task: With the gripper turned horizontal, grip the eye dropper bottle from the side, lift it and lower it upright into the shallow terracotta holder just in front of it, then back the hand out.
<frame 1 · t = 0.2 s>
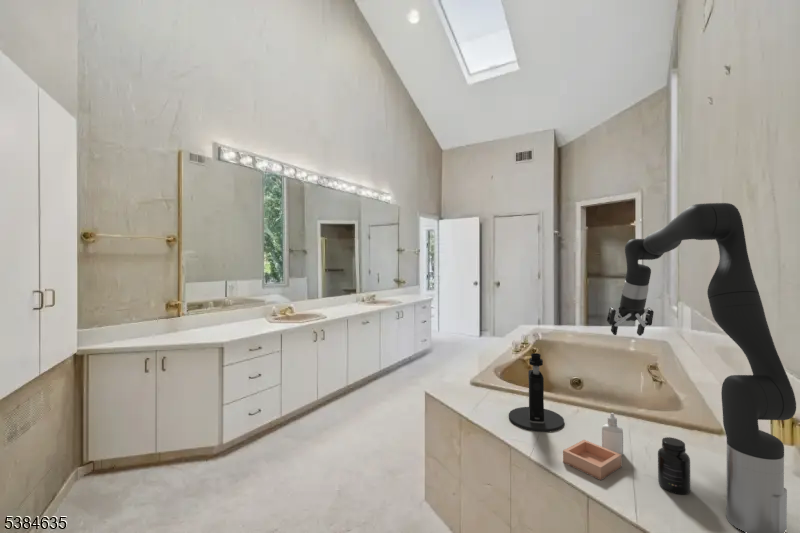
hand: (626, 334, 139), 31 cm above the worktop, tool tilted 20°, fingers open, 8 cm apart
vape: (535, 420, 140), on the worktop
eye dropper bottle: (612, 452, 116), on the worktop
terracotta holder: (591, 464, 110), on the worktop
supplement bottle: (673, 487, 98), on the worktop
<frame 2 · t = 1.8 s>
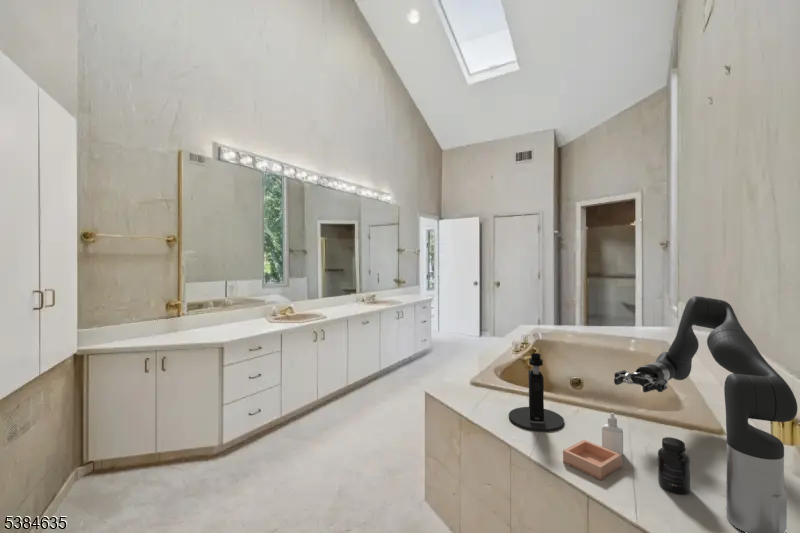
hand: (629, 385, 122), 18 cm above the worktop, tool horizontal, fingers open, 8 cm apart
nothing on the worktop moved.
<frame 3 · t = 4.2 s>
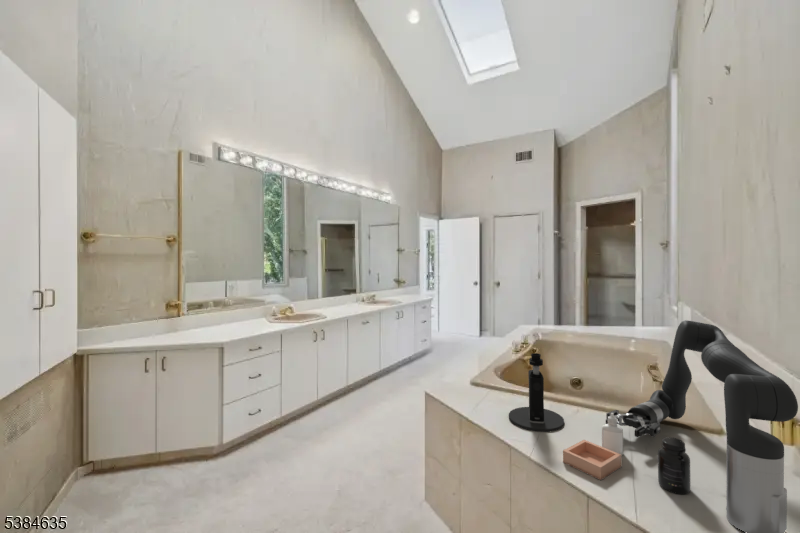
hand: (621, 428, 119), 6 cm above the worktop, tool horizontal, fingers open, 8 cm apart
nothing on the worktop moved.
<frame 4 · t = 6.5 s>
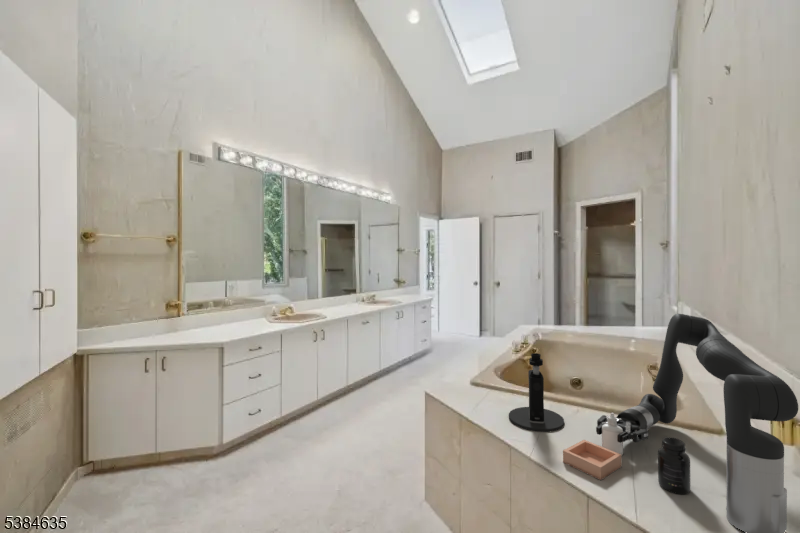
hand: (608, 435, 114), 6 cm above the worktop, tool horizontal, fingers closed on eye dropper bottle, 5 cm apart
eye dropper bottle: (612, 452, 116), on the worktop, touching gripper
everything else where it was.
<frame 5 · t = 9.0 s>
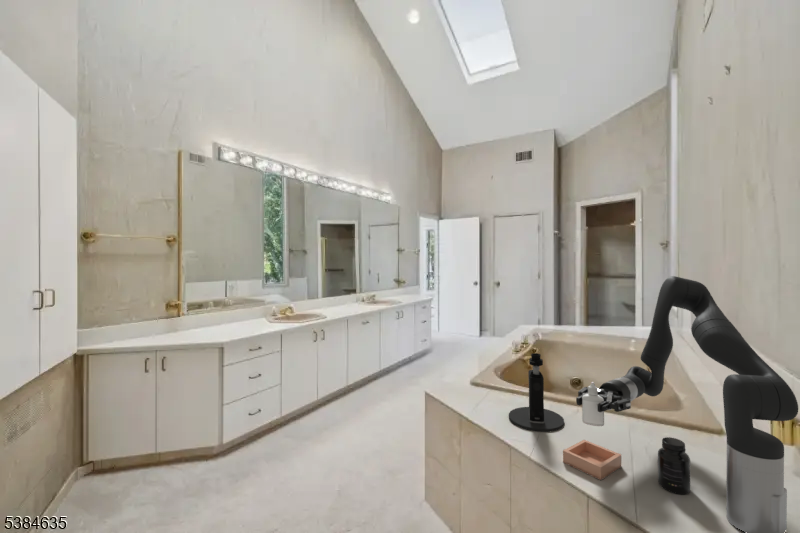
hand: (588, 405, 108), 18 cm above the worktop, tool horizontal, fingers closed on eye dropper bottle, 5 cm apart
eye dropper bottle: (593, 424, 110), point 11 cm above the worktop, touching gripper
everything else where it was.
when the fingers open (9 cm above the worktop, at t = 11.8 s): eye dropper bottle drops 2 cm, resting on terracotta holder.
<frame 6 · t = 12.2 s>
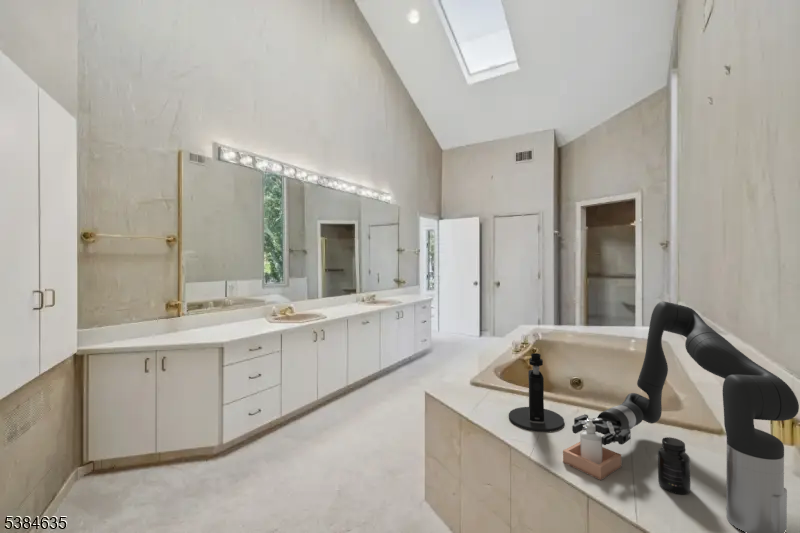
hand: (587, 435, 108), 9 cm above the worktop, tool horizontal, fingers open, 8 cm apart
eye dropper bottle: (591, 462, 110), resting on terracotta holder
everything else where it was.
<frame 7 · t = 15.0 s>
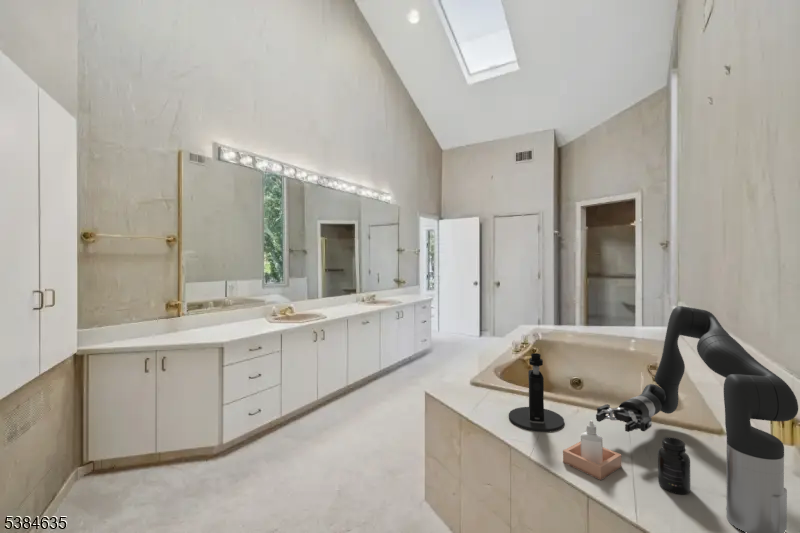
hand: (611, 423, 116), 9 cm above the worktop, tool horizontal, fingers open, 8 cm apart
nothing on the worktop moved.
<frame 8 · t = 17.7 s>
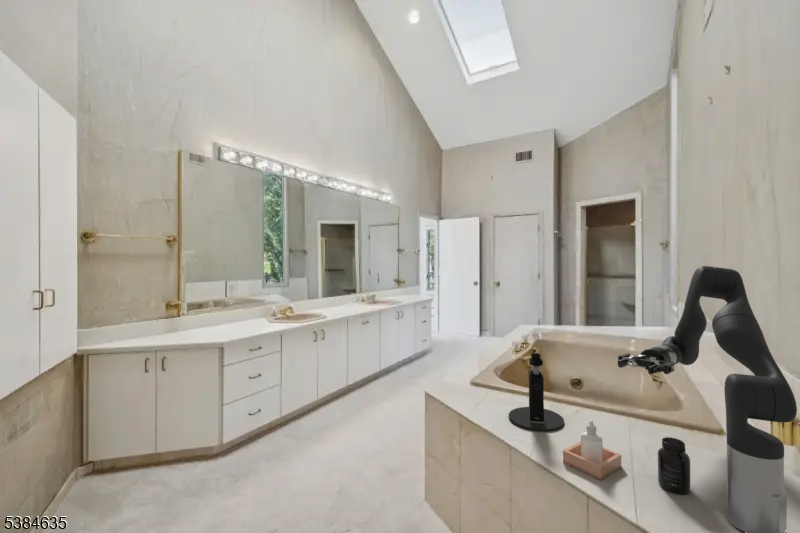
hand: (634, 367, 115), 26 cm above the worktop, tool horizontal, fingers open, 8 cm apart
nothing on the worktop moved.
at the end: eye dropper bottle 0.1 cm off-centre on the terracotta holder, point 0.4 cm above the terracotta holder's base; eye dropper bottle tilted 0° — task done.
